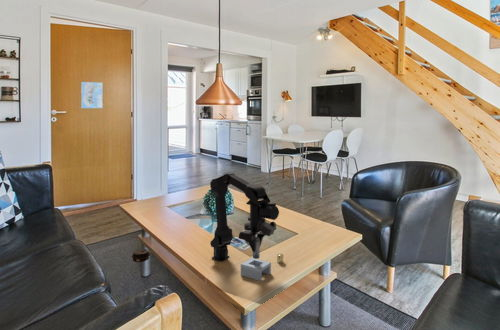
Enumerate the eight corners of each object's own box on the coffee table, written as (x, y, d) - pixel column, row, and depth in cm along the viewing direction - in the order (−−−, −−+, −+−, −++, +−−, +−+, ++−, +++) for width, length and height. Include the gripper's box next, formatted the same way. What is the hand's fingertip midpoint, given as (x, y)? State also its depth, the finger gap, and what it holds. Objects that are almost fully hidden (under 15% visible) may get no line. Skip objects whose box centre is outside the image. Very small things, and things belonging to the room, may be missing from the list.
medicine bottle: (245, 246, 169) (245, 225, 169) (241, 242, 176) (242, 222, 175) (257, 245, 171) (257, 224, 170) (253, 241, 178) (253, 221, 177)
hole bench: (240, 275, 132) (240, 264, 132) (251, 268, 140) (251, 257, 139) (260, 280, 127) (260, 269, 126) (270, 273, 134) (270, 262, 134)
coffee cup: (149, 272, 156) (149, 247, 155) (151, 278, 149) (151, 253, 148) (131, 274, 153) (131, 249, 152) (132, 281, 145) (132, 255, 144)
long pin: (251, 257, 132) (251, 237, 132) (254, 255, 135) (255, 235, 134) (257, 259, 130) (257, 238, 130) (260, 257, 133) (261, 237, 132)
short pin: (275, 264, 144) (276, 255, 144) (278, 262, 147) (278, 253, 147) (281, 265, 143) (281, 256, 143) (284, 263, 145) (284, 254, 145)
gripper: (261, 223, 119) (260, 261, 120) (282, 214, 135) (282, 248, 136) (238, 218, 125) (237, 255, 126) (261, 210, 141) (260, 243, 142)
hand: (255, 250), depth 132 cm, fingers closed on long pin, 3 cm apart
